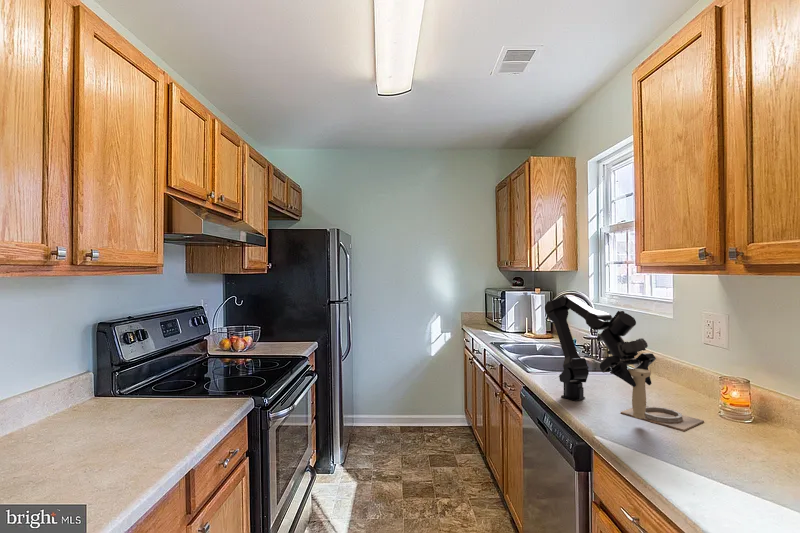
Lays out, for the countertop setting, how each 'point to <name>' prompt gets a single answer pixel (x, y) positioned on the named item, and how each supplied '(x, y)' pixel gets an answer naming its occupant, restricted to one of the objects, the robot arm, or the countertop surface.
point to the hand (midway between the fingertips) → (642, 385)
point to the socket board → (667, 418)
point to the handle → (639, 392)
